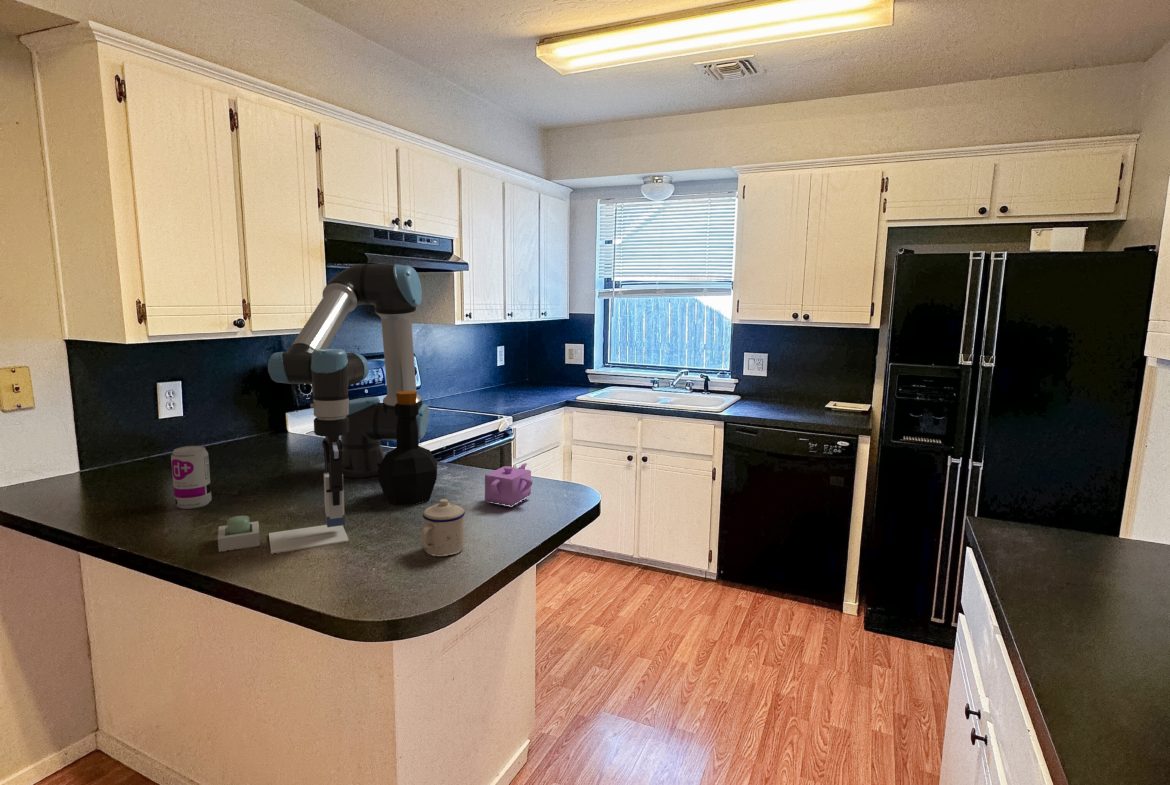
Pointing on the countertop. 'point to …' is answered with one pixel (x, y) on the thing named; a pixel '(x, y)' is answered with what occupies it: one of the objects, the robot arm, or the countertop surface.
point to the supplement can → (191, 477)
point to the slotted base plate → (306, 538)
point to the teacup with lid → (443, 528)
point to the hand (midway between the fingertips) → (334, 514)
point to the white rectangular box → (327, 512)
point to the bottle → (407, 458)
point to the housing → (238, 538)
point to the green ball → (238, 525)
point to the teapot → (508, 485)
